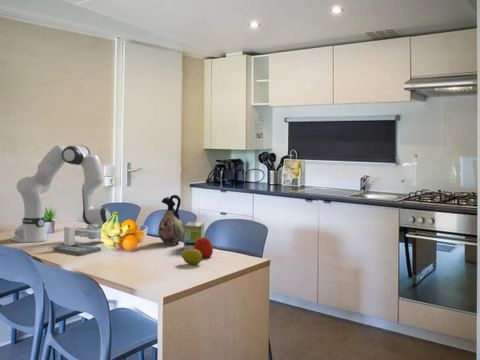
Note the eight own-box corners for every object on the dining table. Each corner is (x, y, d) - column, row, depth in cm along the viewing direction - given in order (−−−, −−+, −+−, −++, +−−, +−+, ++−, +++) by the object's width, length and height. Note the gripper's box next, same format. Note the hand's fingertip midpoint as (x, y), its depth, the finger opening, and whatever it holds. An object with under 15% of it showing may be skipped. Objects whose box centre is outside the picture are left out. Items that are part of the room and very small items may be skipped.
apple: (195, 259, 235) (195, 239, 235) (191, 255, 245) (192, 235, 245) (214, 258, 238) (214, 238, 238) (210, 254, 248) (210, 235, 248)
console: (53, 251, 248) (53, 246, 247) (73, 246, 260) (73, 242, 260) (81, 255, 238) (81, 250, 238) (100, 251, 250) (100, 246, 250)
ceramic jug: (153, 244, 271) (153, 194, 269) (164, 240, 286) (165, 193, 284) (179, 247, 266) (180, 196, 264) (189, 242, 281) (190, 194, 279)
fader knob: (62, 245, 251) (62, 227, 250) (69, 244, 255) (69, 225, 255) (69, 247, 248) (69, 227, 247) (76, 245, 252) (76, 226, 252)
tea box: (201, 252, 253) (201, 225, 253) (183, 251, 254) (183, 225, 253) (204, 246, 269) (204, 222, 268) (187, 246, 269) (187, 221, 268)
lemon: (205, 264, 225) (205, 248, 224) (197, 267, 218) (197, 251, 217) (186, 261, 229) (187, 246, 229) (178, 265, 222) (178, 248, 222)
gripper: (80, 224, 271) (61, 227, 259) (106, 227, 262) (87, 230, 250) (80, 234, 272) (61, 238, 260) (105, 238, 262) (87, 242, 250)
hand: (74, 234), depth 255 cm, fingers open, 8 cm apart
